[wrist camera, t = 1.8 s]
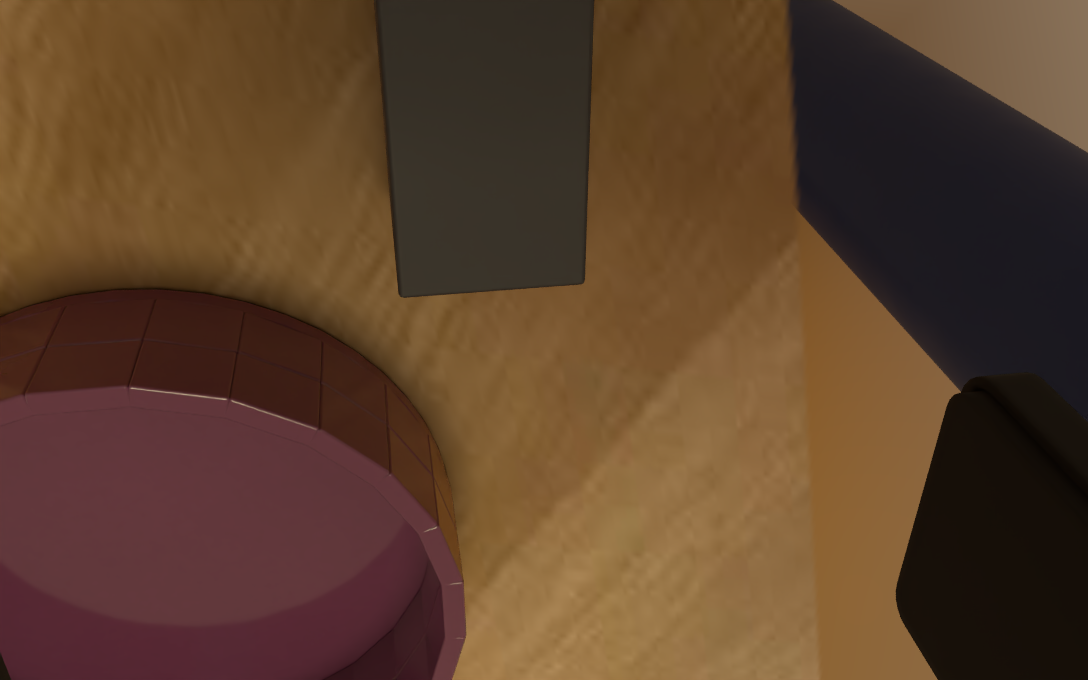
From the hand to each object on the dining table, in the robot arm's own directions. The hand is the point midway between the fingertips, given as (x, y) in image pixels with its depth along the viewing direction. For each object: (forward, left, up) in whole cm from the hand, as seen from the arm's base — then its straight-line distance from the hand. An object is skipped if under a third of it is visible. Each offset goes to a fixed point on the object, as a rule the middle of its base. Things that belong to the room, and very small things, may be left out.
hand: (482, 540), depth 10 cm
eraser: (-2, 0, -16) cm, 16 cm away
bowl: (+7, +14, -16) cm, 23 cm away
